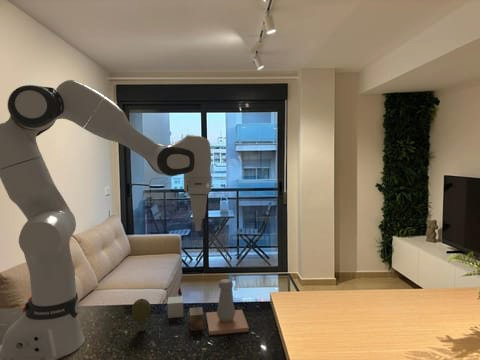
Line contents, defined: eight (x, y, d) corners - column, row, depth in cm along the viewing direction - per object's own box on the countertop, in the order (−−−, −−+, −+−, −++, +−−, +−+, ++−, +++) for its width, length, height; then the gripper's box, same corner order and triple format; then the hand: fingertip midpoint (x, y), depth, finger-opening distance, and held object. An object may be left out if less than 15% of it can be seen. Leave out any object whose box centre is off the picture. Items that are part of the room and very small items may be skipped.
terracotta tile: (209, 335, 107) (209, 331, 107) (206, 316, 119) (206, 312, 119) (248, 331, 109) (248, 327, 109) (241, 313, 121) (241, 309, 121)
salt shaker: (232, 325, 111) (232, 284, 109) (214, 323, 112) (214, 283, 110) (237, 316, 116) (236, 277, 115) (219, 314, 117) (219, 276, 116)
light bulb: (155, 330, 110) (154, 299, 109) (139, 337, 106) (137, 305, 105) (145, 324, 114) (144, 294, 113) (129, 331, 110) (127, 299, 109)
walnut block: (190, 331, 110) (189, 315, 109) (189, 323, 115) (189, 308, 114) (203, 329, 111) (203, 314, 110) (202, 321, 116) (202, 307, 115)
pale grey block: (167, 318, 118) (167, 303, 118) (168, 311, 123) (167, 297, 123) (183, 317, 119) (182, 302, 118) (183, 310, 124) (182, 296, 123)
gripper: (187, 182, 127) (187, 220, 128) (188, 189, 107) (188, 234, 108) (205, 182, 128) (205, 220, 129) (209, 189, 108) (209, 234, 109)
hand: (197, 227), depth 119 cm, fingers open, 8 cm apart
